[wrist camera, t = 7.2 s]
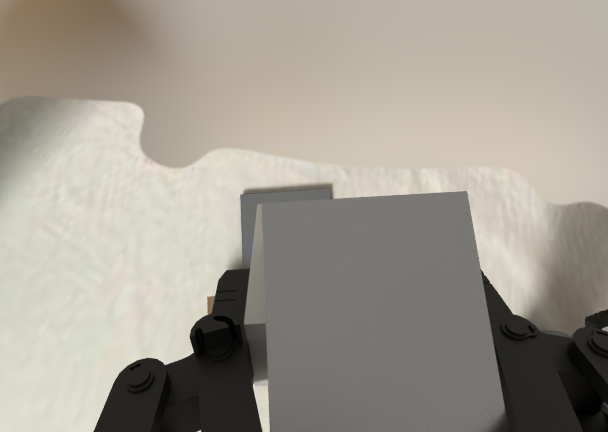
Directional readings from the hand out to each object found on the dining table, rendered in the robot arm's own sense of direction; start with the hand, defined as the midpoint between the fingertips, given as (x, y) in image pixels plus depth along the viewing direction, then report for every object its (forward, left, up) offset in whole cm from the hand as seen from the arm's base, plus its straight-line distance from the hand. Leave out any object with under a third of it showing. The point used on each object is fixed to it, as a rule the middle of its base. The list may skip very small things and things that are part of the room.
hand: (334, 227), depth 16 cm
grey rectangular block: (+3, -2, -3) cm, 5 cm away
